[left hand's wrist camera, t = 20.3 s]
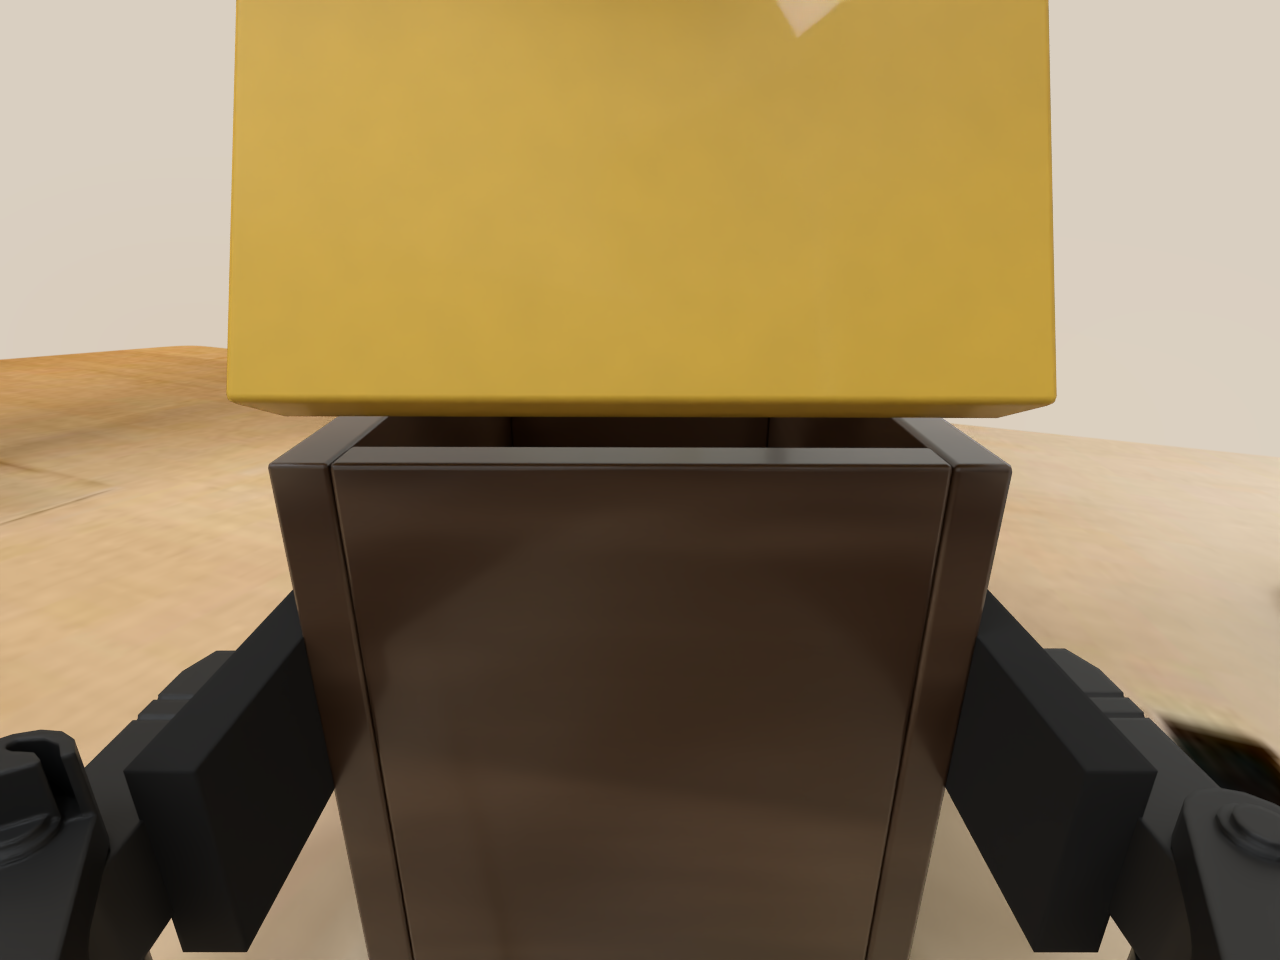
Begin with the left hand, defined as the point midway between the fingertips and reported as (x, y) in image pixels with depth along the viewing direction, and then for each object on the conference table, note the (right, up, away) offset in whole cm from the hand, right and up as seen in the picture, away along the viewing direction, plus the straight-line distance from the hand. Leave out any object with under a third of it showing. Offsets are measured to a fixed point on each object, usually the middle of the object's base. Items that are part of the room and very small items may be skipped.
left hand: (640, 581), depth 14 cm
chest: (0, -6, +5) cm, 7 cm away
